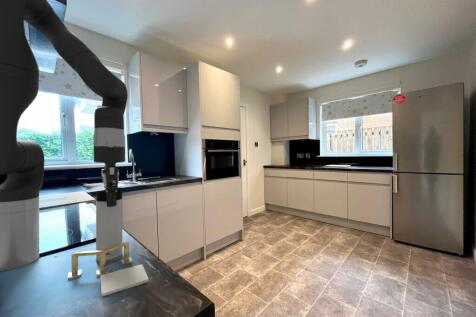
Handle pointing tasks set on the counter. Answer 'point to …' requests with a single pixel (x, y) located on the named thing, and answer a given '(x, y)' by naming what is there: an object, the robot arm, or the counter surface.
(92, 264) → the counter surface
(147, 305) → the counter surface
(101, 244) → the travel mug
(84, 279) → the counter surface
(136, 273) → the coaster
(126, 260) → the gold barrier railing
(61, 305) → the counter surface
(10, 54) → the robot arm
